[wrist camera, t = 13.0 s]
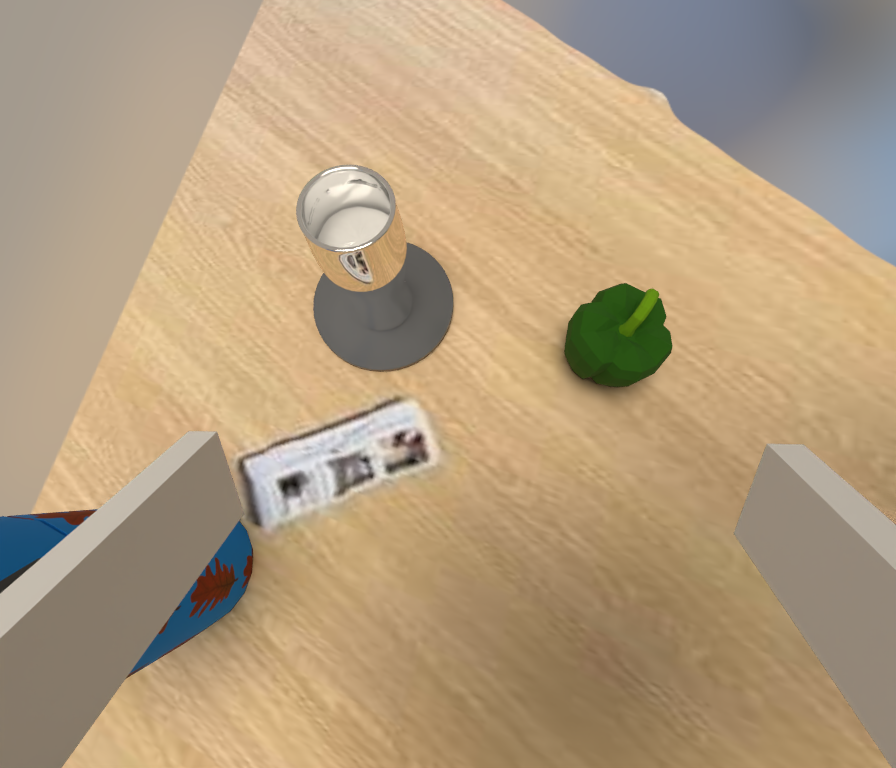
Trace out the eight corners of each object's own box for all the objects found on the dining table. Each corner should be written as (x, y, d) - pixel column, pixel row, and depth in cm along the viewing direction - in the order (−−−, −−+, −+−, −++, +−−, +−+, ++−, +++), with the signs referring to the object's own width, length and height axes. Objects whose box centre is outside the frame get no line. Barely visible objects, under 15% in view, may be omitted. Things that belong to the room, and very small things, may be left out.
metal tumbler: (394, 347, 41) (361, 272, 26) (334, 314, 42) (271, 224, 27) (430, 290, 42) (418, 189, 28) (372, 259, 43) (331, 145, 29)
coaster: (413, 222, 45) (412, 218, 44) (477, 330, 42) (478, 327, 41) (294, 280, 44) (291, 276, 43) (352, 396, 41) (350, 394, 40)
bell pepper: (592, 414, 40) (636, 392, 30) (537, 347, 42) (564, 306, 32) (657, 364, 41) (721, 327, 32) (602, 301, 43) (646, 248, 33)
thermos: (266, 509, 38) (-54, 555, 14) (241, 638, 36) (-199, 964, 12) (151, 496, 39) (-356, 519, 14) (118, 623, 36) (-558, 908, 12)
